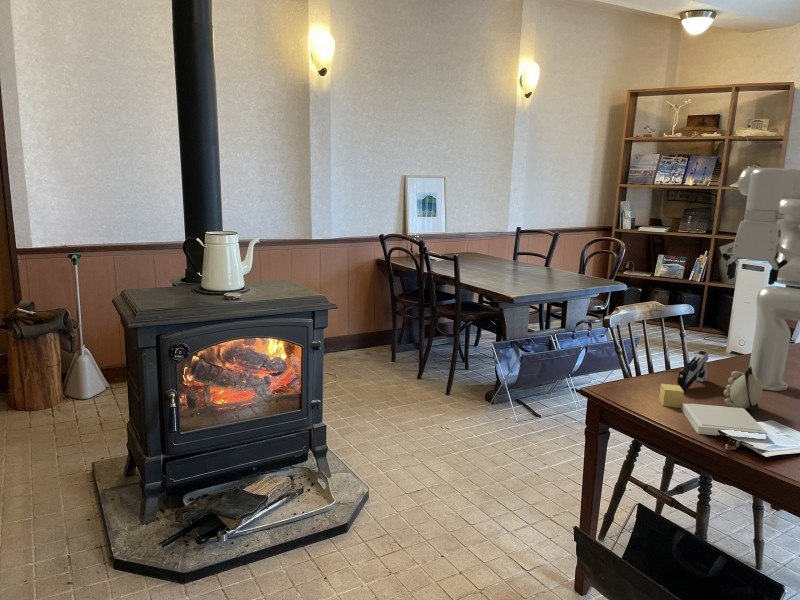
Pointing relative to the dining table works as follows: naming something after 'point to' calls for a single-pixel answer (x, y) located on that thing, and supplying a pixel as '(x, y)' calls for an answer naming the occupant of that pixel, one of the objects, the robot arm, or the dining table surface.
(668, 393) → the mustard cube
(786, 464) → the dining table surface
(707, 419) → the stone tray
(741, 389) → the decorative object
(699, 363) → the toy gun
